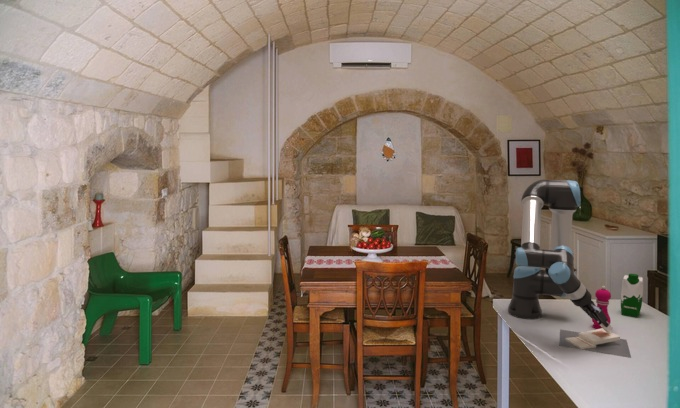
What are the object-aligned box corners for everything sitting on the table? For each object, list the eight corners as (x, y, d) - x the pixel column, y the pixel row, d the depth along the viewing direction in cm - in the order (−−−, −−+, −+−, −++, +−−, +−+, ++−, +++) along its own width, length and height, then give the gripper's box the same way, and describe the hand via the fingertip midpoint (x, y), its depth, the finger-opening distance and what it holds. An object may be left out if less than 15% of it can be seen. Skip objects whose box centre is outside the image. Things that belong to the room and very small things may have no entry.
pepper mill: (612, 333, 208) (615, 288, 206) (594, 332, 210) (597, 287, 207) (606, 327, 215) (609, 284, 213) (589, 326, 217) (592, 283, 214)
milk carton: (619, 315, 231) (622, 274, 229) (620, 309, 239) (623, 270, 236) (640, 318, 227) (644, 277, 224) (641, 313, 234) (644, 273, 232)
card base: (581, 349, 190) (581, 346, 190) (565, 339, 199) (565, 337, 199) (595, 347, 192) (596, 345, 192) (579, 338, 201) (579, 336, 201)
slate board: (560, 331, 211) (560, 329, 210) (626, 341, 200) (626, 339, 200) (558, 348, 194) (559, 345, 193) (631, 360, 183) (631, 357, 183)
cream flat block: (595, 341, 192) (620, 336, 194) (578, 332, 200) (602, 327, 203) (595, 344, 192) (620, 339, 195) (578, 336, 201) (602, 331, 203)
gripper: (560, 295, 198) (591, 330, 204) (583, 305, 186) (615, 342, 192) (572, 281, 199) (602, 317, 205) (596, 291, 186) (628, 328, 192)
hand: (609, 329), depth 198 cm, fingers closed
